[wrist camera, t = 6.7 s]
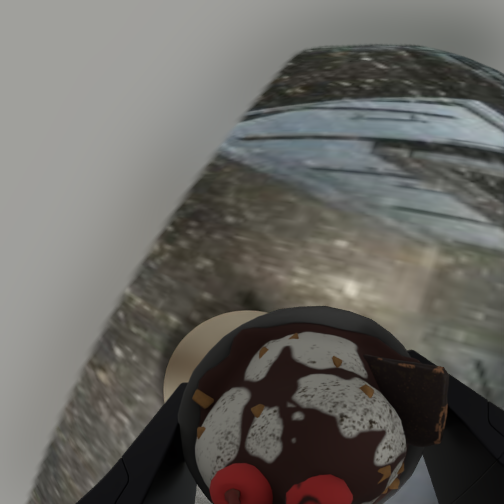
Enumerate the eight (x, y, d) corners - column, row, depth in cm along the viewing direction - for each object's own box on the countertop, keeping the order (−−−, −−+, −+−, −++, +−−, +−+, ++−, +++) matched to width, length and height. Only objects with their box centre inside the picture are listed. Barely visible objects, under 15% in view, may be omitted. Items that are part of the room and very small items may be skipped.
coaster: (305, 481, 18) (306, 486, 17) (153, 437, 20) (147, 441, 19) (347, 332, 22) (351, 331, 21) (193, 295, 24) (188, 292, 23)
